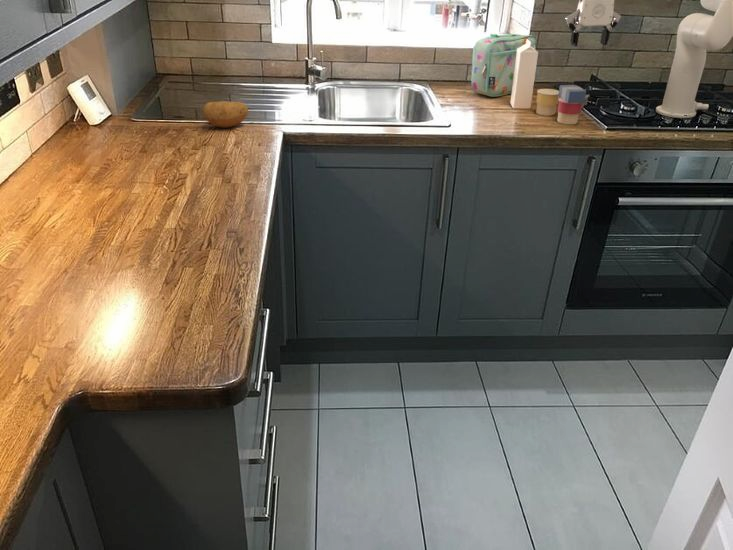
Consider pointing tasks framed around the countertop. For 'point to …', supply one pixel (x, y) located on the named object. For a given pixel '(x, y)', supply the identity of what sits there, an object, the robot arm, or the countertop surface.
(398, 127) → the countertop surface
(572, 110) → the raspberry yogurt
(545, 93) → the vanilla yogurt
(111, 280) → the countertop surface
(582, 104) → the egg carton
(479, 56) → the lunch box
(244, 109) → the potato
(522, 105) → the milk
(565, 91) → the block
